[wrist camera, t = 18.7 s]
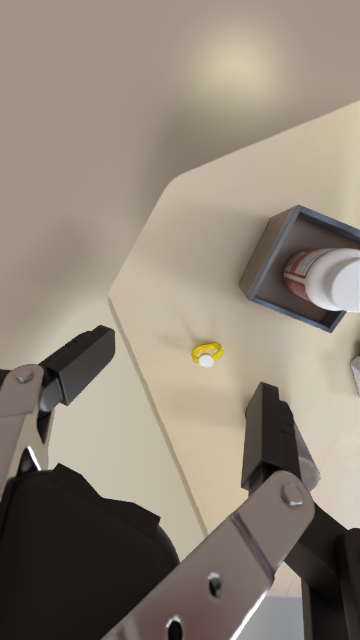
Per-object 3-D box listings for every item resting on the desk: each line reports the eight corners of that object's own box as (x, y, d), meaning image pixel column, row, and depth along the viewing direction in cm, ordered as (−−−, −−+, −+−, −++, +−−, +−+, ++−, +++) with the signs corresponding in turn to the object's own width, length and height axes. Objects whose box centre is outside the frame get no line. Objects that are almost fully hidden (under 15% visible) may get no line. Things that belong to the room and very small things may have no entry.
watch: (220, 337, 43) (221, 351, 37) (223, 349, 43) (225, 364, 38) (191, 343, 44) (189, 358, 38) (195, 355, 45) (193, 370, 39)
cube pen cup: (237, 284, 39) (248, 299, 28) (270, 217, 34) (298, 204, 24) (297, 309, 39) (331, 333, 28) (338, 245, 34) (396, 244, 24)
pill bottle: (328, 293, 29) (395, 319, 18) (280, 296, 30) (318, 323, 19) (334, 245, 27) (413, 244, 16) (283, 250, 28) (327, 252, 17)
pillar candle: (252, 435, 50) (268, 509, 36) (239, 403, 47) (251, 469, 33) (295, 426, 47) (331, 503, 33) (283, 392, 45) (317, 458, 31)
